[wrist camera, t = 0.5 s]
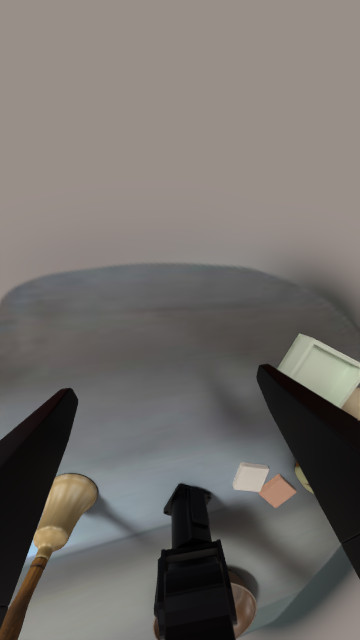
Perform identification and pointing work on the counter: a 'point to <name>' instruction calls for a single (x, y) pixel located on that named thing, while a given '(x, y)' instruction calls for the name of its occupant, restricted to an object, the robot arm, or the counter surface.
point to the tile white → (250, 477)
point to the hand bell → (50, 540)
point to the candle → (353, 404)
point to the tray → (321, 369)
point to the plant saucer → (243, 606)
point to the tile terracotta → (277, 491)
